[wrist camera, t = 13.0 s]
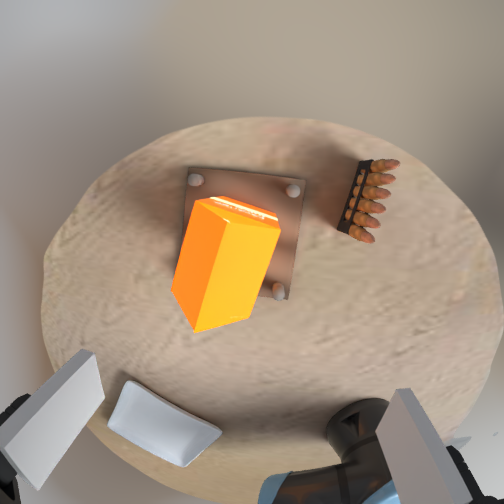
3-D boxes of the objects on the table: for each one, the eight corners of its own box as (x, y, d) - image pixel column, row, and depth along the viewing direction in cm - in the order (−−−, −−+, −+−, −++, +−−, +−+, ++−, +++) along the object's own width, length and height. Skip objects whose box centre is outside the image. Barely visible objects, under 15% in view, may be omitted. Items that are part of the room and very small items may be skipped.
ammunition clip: (348, 234, 39) (377, 252, 27) (336, 229, 39) (363, 246, 27) (371, 165, 37) (408, 158, 25) (360, 160, 37) (394, 151, 25)
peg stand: (287, 295, 42) (289, 308, 37) (182, 281, 42) (173, 291, 38) (304, 180, 38) (309, 179, 33) (191, 168, 38) (182, 165, 34)
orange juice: (203, 255, 39) (146, 316, 20) (222, 195, 37) (173, 202, 18) (256, 273, 39) (244, 351, 20) (277, 213, 37) (286, 240, 18)
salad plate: (110, 418, 52) (105, 427, 49) (133, 369, 47) (126, 379, 44) (186, 459, 53) (183, 469, 50) (226, 420, 49) (224, 432, 45)
